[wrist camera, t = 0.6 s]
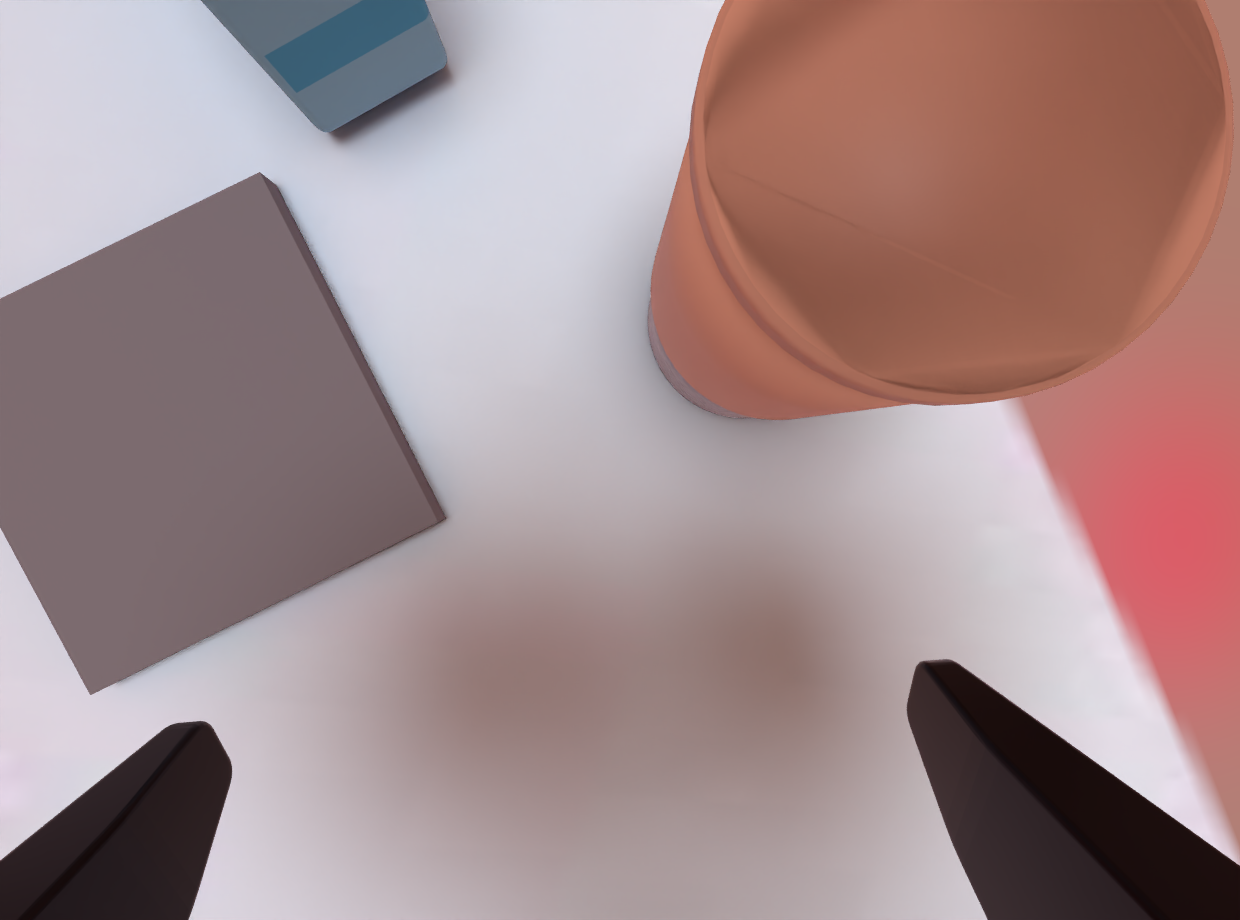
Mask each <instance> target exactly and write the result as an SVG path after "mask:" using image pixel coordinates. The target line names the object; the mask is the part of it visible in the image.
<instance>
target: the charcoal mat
mask: <svg viewBox="0 0 1240 920" xmlns="http://www.w3.org/2000/svg"><path fill="white" fill-rule="evenodd" d="M444 519H446V517H445V515H444V513H443V511H442V510H441V508H440V506H439V504H438V502H437V500H436V498H435V496H434V494H433V492H432V490H431V488H430V486H429V484H428V482H427V480H426V478H425V476H424V474H423V472H422V470H421V468H420V466H419V464H418V462H417V460H416V459H415V457H414V455H413V453H412V451H411V449H410V447H409V445H408V443H407V441H406V439H405V437H404V435H403V433H402V431H401V429H400V427H399V425H398V423H397V421H396V419H395V417H394V415H393V413H392V411H391V409H390V408H389V406H388V404H387V402H386V400H385V398H384V396H383V394H382V392H381V390H380V388H379V386H378V384H377V382H376V380H375V378H374V376H373V374H372V372H371V370H370V368H369V366H368V364H367V362H366V360H365V358H364V357H363V355H362V353H361V351H360V349H359V347H358V345H357V343H356V341H355V339H354V337H353V335H352V333H351V331H350V329H349V327H348V325H347V323H346V321H345V319H344V317H343V315H342V313H341V311H340V309H339V307H338V305H337V304H336V302H335V300H334V298H333V296H332V294H331V292H330V290H329V288H328V286H327V284H326V282H325V280H324V278H323V276H322V274H321V272H320V270H319V268H318V266H317V264H316V262H315V260H314V258H313V256H312V254H311V253H310V251H309V249H308V247H307V245H306V243H305V241H304V239H303V237H302V235H301V233H300V231H299V229H298V227H297V225H296V223H295V221H294V219H293V217H292V215H291V213H290V211H289V209H288V207H287V205H286V203H285V202H284V200H283V198H282V196H281V194H280V192H279V190H278V188H277V186H276V185H275V184H274V183H273V182H271V181H270V180H269V179H268V178H266V177H265V176H264V175H263V174H261V173H260V172H259V173H257V174H255V175H253V176H251V177H249V178H247V179H245V180H243V181H241V182H239V183H237V184H234V185H232V186H230V187H228V188H226V189H224V190H222V191H220V192H218V193H216V194H214V195H212V196H210V197H208V198H206V199H204V200H202V201H200V202H198V203H196V204H193V205H191V206H189V207H187V208H185V209H183V210H181V211H179V212H177V213H175V214H173V215H171V216H169V217H167V218H165V219H163V220H161V221H159V222H157V223H155V224H153V225H150V226H148V227H146V228H144V229H142V230H140V231H138V232H136V233H134V234H132V235H130V236H128V237H126V238H124V239H122V240H120V241H118V242H116V243H114V244H112V245H109V246H107V247H105V248H103V249H101V250H99V251H97V252H95V253H93V254H91V255H89V256H87V257H85V258H83V259H81V260H79V261H77V262H75V263H73V264H71V265H69V266H66V267H64V268H62V269H60V270H58V271H56V272H54V273H52V274H50V275H48V276H46V277H44V278H42V279H40V280H38V281H36V282H34V283H32V284H30V285H28V286H25V287H23V288H21V289H19V290H17V291H15V292H13V293H11V294H9V295H7V296H5V297H3V298H1V299H0V528H1V530H2V532H3V533H4V535H5V537H6V539H7V541H8V543H9V545H10V546H11V548H12V550H13V552H14V554H15V556H16V558H17V559H18V561H19V563H20V565H21V567H22V569H23V571H24V572H25V574H26V576H27V578H28V580H29V582H30V584H31V586H32V587H33V589H34V591H35V593H36V595H37V597H38V599H39V600H40V602H41V604H42V606H43V608H44V610H45V612H46V613H47V615H48V617H49V619H50V621H51V623H52V625H53V626H54V628H55V630H56V632H57V634H58V636H59V638H60V639H61V641H62V643H63V645H64V647H65V649H66V651H67V653H68V654H69V656H70V658H71V660H72V662H73V664H74V666H75V667H76V669H77V671H78V673H79V675H80V677H81V679H82V680H83V682H84V684H85V686H86V688H87V690H88V692H89V693H90V695H92V694H94V693H96V692H98V691H100V690H102V689H104V688H106V687H108V686H110V685H112V684H114V683H116V682H118V681H120V680H122V679H124V678H126V677H128V676H130V675H132V674H134V673H136V672H138V671H140V670H142V669H144V668H146V667H148V666H150V665H152V664H154V663H156V662H158V661H160V660H162V659H164V658H166V657H168V656H170V655H172V654H174V653H176V652H178V651H180V650H182V649H184V648H186V647H188V646H190V645H192V644H194V643H196V642H198V641H201V640H203V639H205V638H207V637H209V636H211V635H213V634H215V633H217V632H219V631H221V630H223V629H225V628H227V627H229V626H231V625H233V624H235V623H237V622H239V621H241V620H243V619H245V618H247V617H249V616H251V615H253V614H255V613H257V612H259V611H261V610H263V609H265V608H267V607H269V606H271V605H273V604H275V603H277V602H279V601H281V600H283V599H285V598H287V597H289V596H291V595H293V594H295V593H297V592H299V591H301V590H303V589H305V588H307V587H309V586H311V585H313V584H315V583H317V582H319V581H321V580H323V579H325V578H327V577H329V576H331V575H333V574H335V573H337V572H339V571H341V570H343V569H345V568H347V567H349V566H351V565H353V564H355V563H357V562H359V561H361V560H363V559H365V558H367V557H369V556H371V555H373V554H375V553H377V552H380V551H382V550H384V549H386V548H388V547H390V546H392V545H394V544H396V543H398V542H400V541H402V540H404V539H406V538H408V537H410V536H412V535H414V534H416V533H418V532H420V531H422V530H424V529H426V528H428V527H430V526H432V525H434V524H436V523H438V522H440V521H442V520H444Z"/></svg>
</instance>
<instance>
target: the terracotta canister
mask: <svg viewBox="0 0 1240 920" xmlns="http://www.w3.org/2000/svg"><path fill="white" fill-rule="evenodd" d="M1233 131H1234V130H1233V99H1232V93H1231V86H1230V79H1229V72H1228V66H1227V62H1226V59H1225V55H1224V52H1223V48H1222V44H1221V41H1220V38H1219V34H1218V31H1217V28H1216V26H1215V24H1214V21H1213V19H1212V17H1211V14H1210V12H1209V9H1208V7H1207V5H1206V2H1205V0H725V2H724V4H723V6H722V8H721V10H720V11H719V13H718V16H717V19H716V22H715V25H714V27H713V30H712V33H711V36H710V38H709V41H708V44H707V47H706V50H705V54H704V58H703V62H702V66H701V69H700V73H699V77H698V82H697V87H696V91H695V96H694V100H693V105H692V111H691V123H690V135H689V139H688V143H687V147H686V150H685V154H684V157H683V161H682V164H681V168H680V171H679V175H678V178H677V182H676V186H675V189H674V193H673V196H672V200H671V203H670V207H669V210H668V214H667V217H666V221H665V225H664V228H663V232H662V235H661V239H660V242H659V246H658V249H657V253H656V256H655V261H654V266H653V270H652V278H651V307H652V313H653V319H654V324H655V327H656V330H657V333H658V336H659V339H660V342H661V344H662V346H663V348H664V350H665V352H666V354H667V356H668V357H669V359H670V361H671V362H672V364H673V365H674V367H675V368H676V370H677V371H678V372H679V373H680V374H681V376H682V377H683V378H684V379H685V380H686V381H687V382H688V383H689V384H690V385H691V386H692V387H693V388H694V389H695V390H696V391H697V392H699V393H700V394H701V395H703V396H704V397H706V398H707V399H709V400H710V401H711V402H713V403H715V404H717V405H719V406H721V407H723V408H725V409H727V410H729V411H732V412H735V413H738V414H740V415H744V416H748V417H753V418H757V419H768V420H786V419H797V418H805V417H813V416H820V415H828V414H836V413H844V412H852V411H860V410H868V409H876V408H884V407H891V406H899V405H907V404H922V405H933V406H938V405H960V404H973V403H983V402H992V401H998V400H1004V399H1009V398H1015V397H1020V396H1026V395H1030V394H1033V393H1036V392H1039V391H1042V390H1045V389H1048V388H1052V387H1055V386H1058V385H1061V384H1063V383H1065V382H1067V381H1069V380H1072V379H1074V378H1076V377H1078V376H1080V375H1082V374H1084V373H1086V372H1088V371H1090V370H1093V369H1094V368H1096V367H1097V366H1099V365H1100V364H1102V363H1103V362H1105V361H1106V360H1108V359H1110V358H1111V357H1113V356H1114V355H1116V354H1117V353H1119V352H1120V351H1122V350H1123V349H1124V348H1125V347H1126V346H1128V345H1129V344H1130V343H1131V342H1133V341H1134V340H1135V339H1136V338H1137V337H1138V336H1140V335H1141V334H1142V333H1143V332H1144V331H1146V330H1147V329H1148V328H1149V327H1150V326H1151V325H1152V324H1153V323H1154V322H1155V320H1156V319H1157V318H1158V317H1159V316H1160V315H1161V313H1163V312H1164V311H1165V309H1166V308H1167V307H1168V306H1169V305H1170V304H1171V303H1172V302H1173V300H1174V299H1175V297H1176V296H1177V295H1178V293H1179V292H1180V290H1181V289H1182V287H1183V286H1184V285H1185V283H1186V282H1187V280H1188V279H1189V277H1190V276H1191V275H1192V273H1193V271H1194V269H1195V267H1196V266H1197V264H1198V262H1199V260H1200V258H1201V256H1202V254H1203V252H1204V250H1205V249H1206V247H1207V244H1208V243H1209V241H1210V238H1211V235H1212V233H1213V230H1214V227H1215V225H1216V222H1217V219H1218V217H1219V214H1220V211H1221V208H1222V205H1223V200H1224V196H1225V192H1226V187H1227V183H1228V179H1229V175H1230V167H1231V157H1232V148H1233V138H1234V132H1233Z"/></svg>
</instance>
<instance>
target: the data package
mask: <svg viewBox="0 0 1240 920" xmlns="http://www.w3.org/2000/svg"><path fill="white" fill-rule="evenodd" d="M201 1H202V2H203V3H204V4H205V5H206V6H207V8H208V9H209V10H210V11H211V12H212V13H213V14H214V15H215V16H216V17H217V19H218V20H219V21H220V22H221V23H222V24H223V25H224V26H225V27H226V28H227V30H228V31H229V32H230V33H231V34H232V35H233V36H234V37H235V38H236V40H237V41H238V42H239V43H240V44H241V45H242V46H243V47H244V48H245V49H246V51H247V52H248V53H249V54H250V55H251V56H252V57H253V58H254V59H255V60H256V62H257V63H258V64H259V65H260V66H261V67H262V68H263V69H264V70H265V71H266V73H267V74H268V75H269V76H270V77H271V78H272V79H273V80H274V81H275V83H276V84H277V85H278V86H279V87H280V88H281V89H282V90H283V91H284V92H285V94H286V95H287V96H288V97H289V98H290V99H291V100H292V101H293V102H294V103H295V105H296V106H297V107H298V108H299V109H300V110H301V111H302V112H303V113H304V114H305V116H306V117H307V118H308V119H309V120H310V121H311V122H312V123H313V124H314V125H315V126H316V127H317V128H318V129H319V130H321V131H323V132H331V131H333V130H335V129H337V128H339V127H340V126H342V125H344V124H346V123H347V122H349V121H351V120H353V119H354V118H356V117H358V116H360V115H361V114H363V113H365V112H367V111H368V110H370V109H372V108H374V107H375V106H377V105H379V104H381V103H383V102H384V101H386V100H388V99H390V98H391V97H393V96H395V95H397V94H398V93H400V92H402V91H404V90H405V89H407V88H409V87H411V86H412V85H414V84H416V83H418V82H419V81H421V80H423V79H425V78H426V77H428V76H430V75H432V74H433V73H435V72H437V71H439V70H441V69H442V68H444V67H445V65H446V62H447V56H446V53H445V50H444V47H443V44H442V42H441V40H440V37H439V35H438V32H437V30H436V27H435V25H434V22H433V20H432V17H431V15H430V12H429V10H428V7H427V5H426V2H425V0H201Z"/></svg>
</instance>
